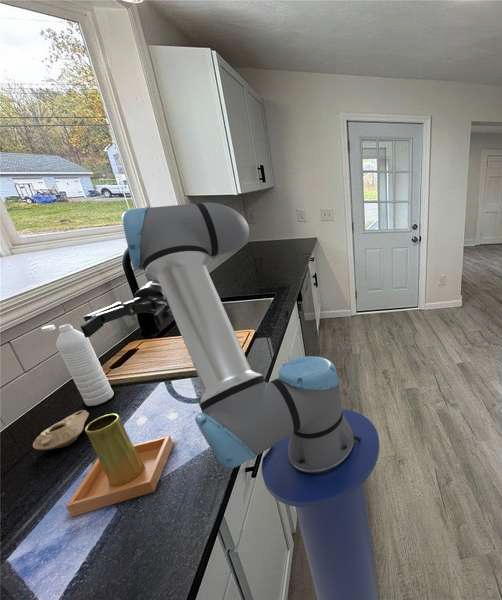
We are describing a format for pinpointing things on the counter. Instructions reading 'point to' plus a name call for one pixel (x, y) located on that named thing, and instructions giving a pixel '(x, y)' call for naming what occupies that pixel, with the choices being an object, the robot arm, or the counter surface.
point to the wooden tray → (102, 494)
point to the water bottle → (82, 365)
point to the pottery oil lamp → (62, 432)
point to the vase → (114, 449)
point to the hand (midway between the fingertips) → (122, 325)
